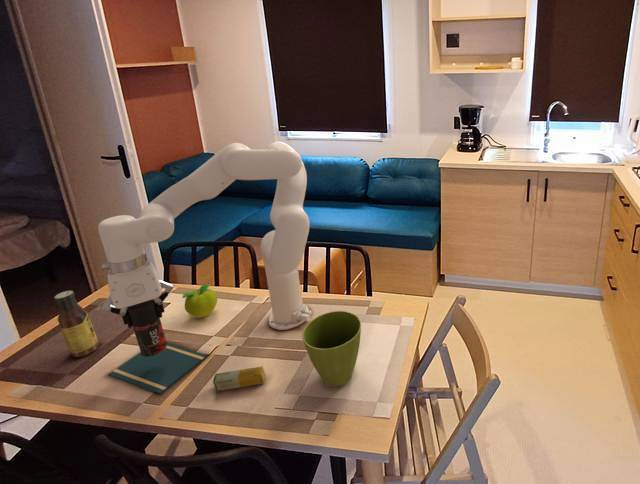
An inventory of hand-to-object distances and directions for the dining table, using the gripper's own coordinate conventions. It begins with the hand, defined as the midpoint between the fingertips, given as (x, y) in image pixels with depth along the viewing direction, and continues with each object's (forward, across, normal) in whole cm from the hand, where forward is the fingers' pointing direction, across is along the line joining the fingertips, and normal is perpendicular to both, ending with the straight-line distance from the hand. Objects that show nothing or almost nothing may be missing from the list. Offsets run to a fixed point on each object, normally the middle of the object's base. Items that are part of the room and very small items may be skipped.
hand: (145, 319), depth 106 cm
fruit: (+16, +13, +18) cm, 28 cm away
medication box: (+16, +18, -22) cm, 32 cm away
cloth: (+16, 0, 0) cm, 16 cm away
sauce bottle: (+16, -18, +21) cm, 32 cm away
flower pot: (+16, +39, -35) cm, 55 cm away
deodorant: (+10, 0, 0) cm, 10 cm away
